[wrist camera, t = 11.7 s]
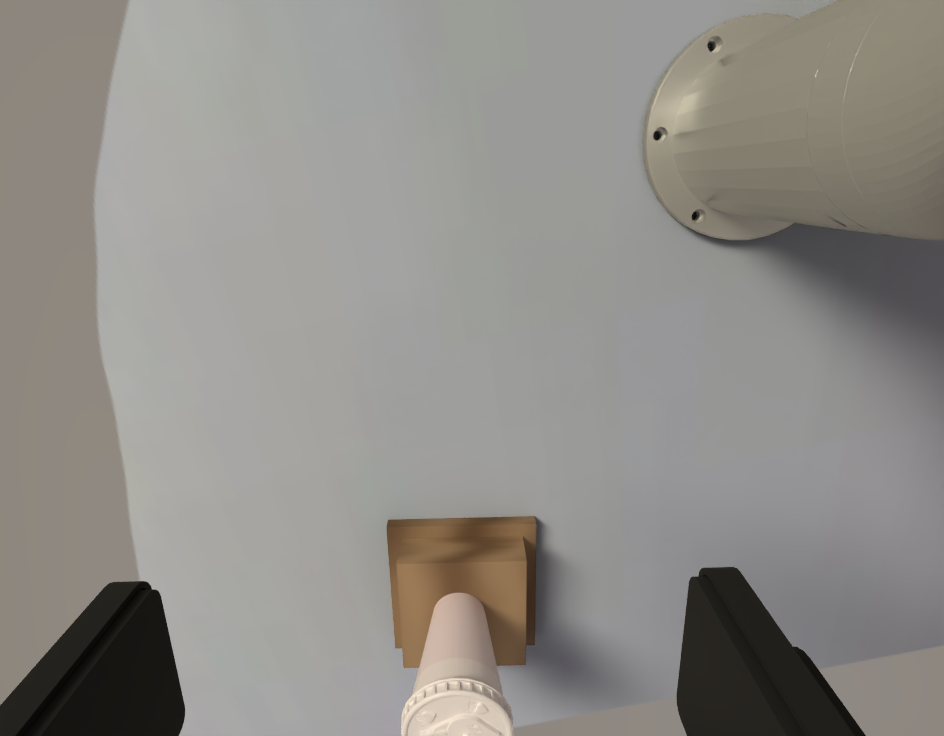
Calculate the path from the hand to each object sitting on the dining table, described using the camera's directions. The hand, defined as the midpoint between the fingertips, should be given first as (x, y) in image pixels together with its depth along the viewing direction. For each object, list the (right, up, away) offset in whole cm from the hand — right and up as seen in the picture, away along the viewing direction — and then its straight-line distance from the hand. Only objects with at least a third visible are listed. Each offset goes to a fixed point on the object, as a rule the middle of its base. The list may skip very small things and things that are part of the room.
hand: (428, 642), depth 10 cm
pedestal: (0, -12, +36) cm, 37 cm away
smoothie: (0, -13, +32) cm, 34 cm away
